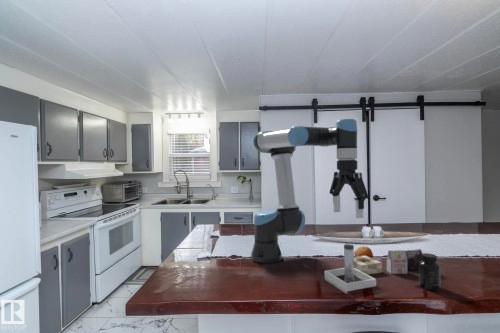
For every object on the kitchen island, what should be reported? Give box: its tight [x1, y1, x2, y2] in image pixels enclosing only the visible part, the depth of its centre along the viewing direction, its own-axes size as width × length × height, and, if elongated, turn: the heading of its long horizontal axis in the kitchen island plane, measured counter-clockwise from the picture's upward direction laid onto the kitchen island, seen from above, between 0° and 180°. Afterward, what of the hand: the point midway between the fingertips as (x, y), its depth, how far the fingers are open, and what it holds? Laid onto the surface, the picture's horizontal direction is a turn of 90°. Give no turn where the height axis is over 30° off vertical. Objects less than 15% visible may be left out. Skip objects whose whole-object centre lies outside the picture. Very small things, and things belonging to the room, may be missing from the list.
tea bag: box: [386, 249, 409, 275], centre depth 120 cm, size 4×7×10 cm, turn 89°
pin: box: [343, 243, 355, 283], centre depth 112 cm, size 4×4×14 cm
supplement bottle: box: [418, 252, 441, 292], centre depth 107 cm, size 7×7×12 cm
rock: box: [405, 248, 423, 272], centre depth 125 cm, size 12×9×10 cm
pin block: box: [354, 256, 383, 275], centre depth 124 cm, size 10×10×5 cm
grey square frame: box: [324, 267, 377, 295], centre depth 112 cm, size 14×13×4 cm
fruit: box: [354, 245, 373, 258], centre depth 137 cm, size 8×8×8 cm
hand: (347, 214), depth 112 cm, fingers open, 13 cm apart
